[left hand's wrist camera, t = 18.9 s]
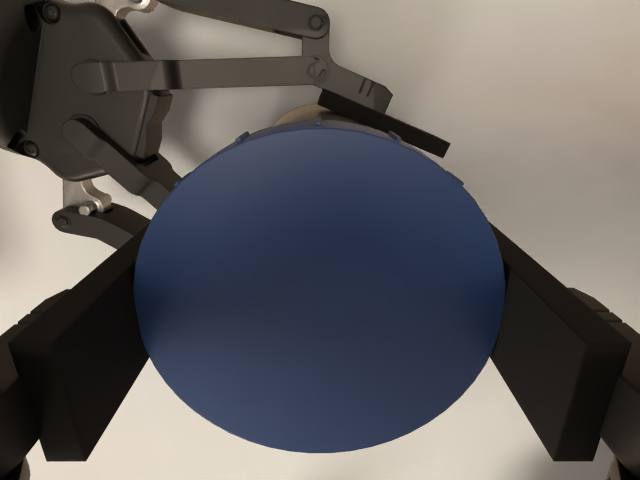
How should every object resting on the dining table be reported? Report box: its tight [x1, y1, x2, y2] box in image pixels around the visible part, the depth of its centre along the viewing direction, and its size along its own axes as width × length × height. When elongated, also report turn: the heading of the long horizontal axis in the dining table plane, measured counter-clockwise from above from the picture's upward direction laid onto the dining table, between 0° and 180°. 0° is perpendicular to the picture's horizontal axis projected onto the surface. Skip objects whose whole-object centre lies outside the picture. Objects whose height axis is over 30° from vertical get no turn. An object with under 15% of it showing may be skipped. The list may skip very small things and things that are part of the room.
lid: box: [133, 117, 506, 453], centre depth 11 cm, size 9×9×2 cm
